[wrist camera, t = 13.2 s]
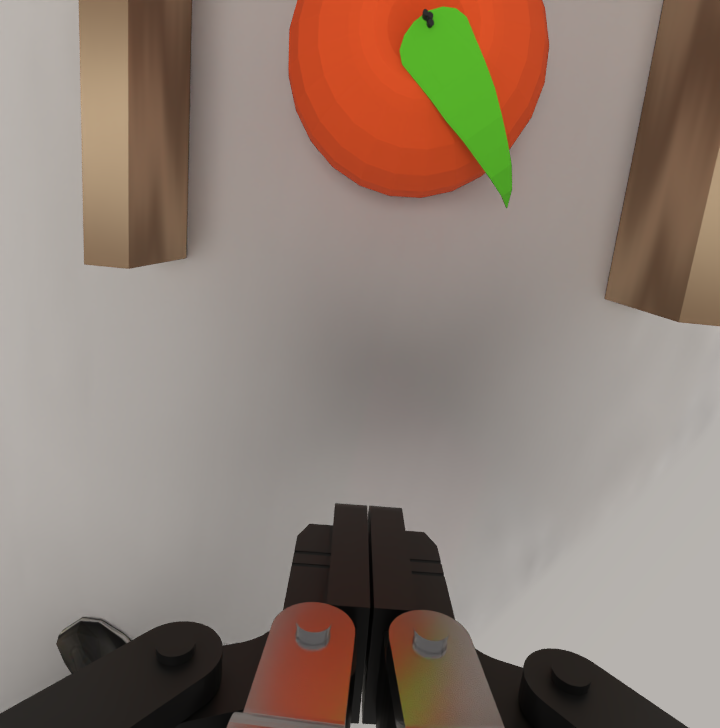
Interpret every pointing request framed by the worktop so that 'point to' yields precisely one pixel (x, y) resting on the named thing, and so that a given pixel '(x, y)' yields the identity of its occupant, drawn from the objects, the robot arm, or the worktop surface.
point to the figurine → (88, 642)
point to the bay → (171, 147)
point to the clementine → (418, 88)
